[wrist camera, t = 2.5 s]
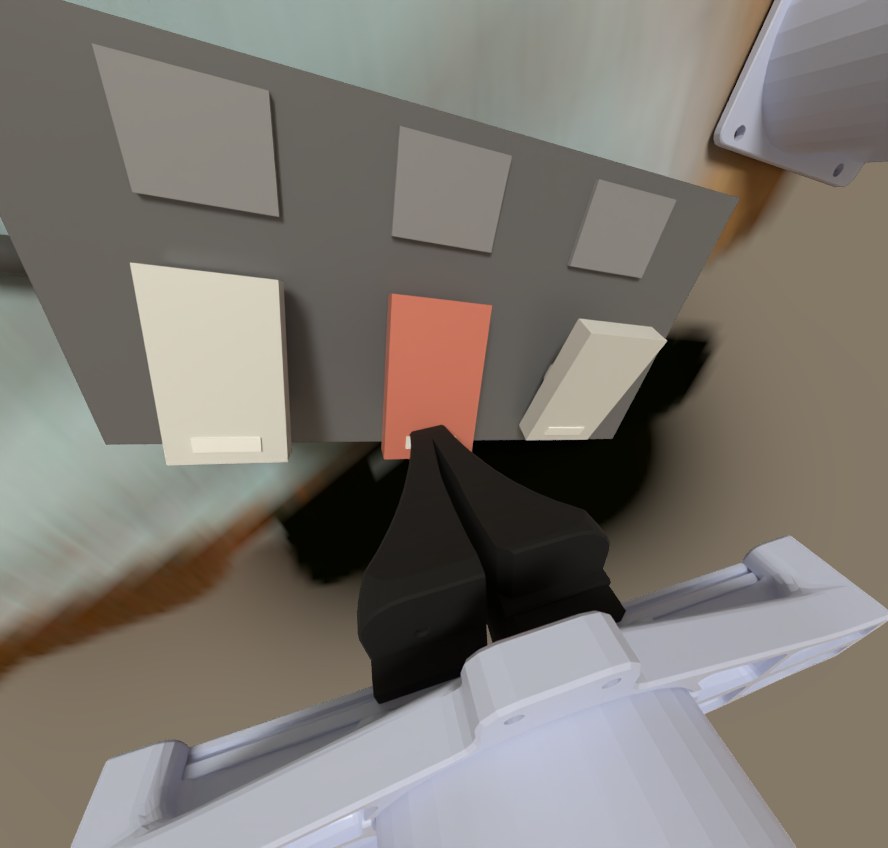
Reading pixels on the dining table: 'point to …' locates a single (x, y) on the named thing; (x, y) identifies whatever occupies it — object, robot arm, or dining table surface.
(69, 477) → the dining table surface
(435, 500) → the robot arm
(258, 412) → the rocker
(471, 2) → the dining table surface
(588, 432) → the rocker
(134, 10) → the dining table surface
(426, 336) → the rocker middle
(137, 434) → the power strip
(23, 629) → the dining table surface
